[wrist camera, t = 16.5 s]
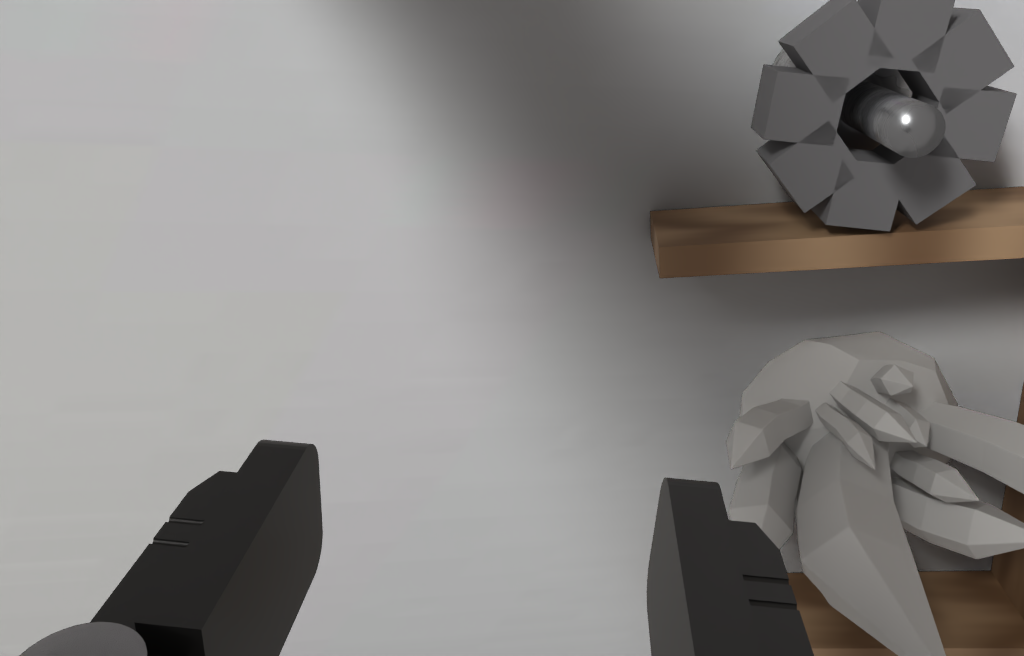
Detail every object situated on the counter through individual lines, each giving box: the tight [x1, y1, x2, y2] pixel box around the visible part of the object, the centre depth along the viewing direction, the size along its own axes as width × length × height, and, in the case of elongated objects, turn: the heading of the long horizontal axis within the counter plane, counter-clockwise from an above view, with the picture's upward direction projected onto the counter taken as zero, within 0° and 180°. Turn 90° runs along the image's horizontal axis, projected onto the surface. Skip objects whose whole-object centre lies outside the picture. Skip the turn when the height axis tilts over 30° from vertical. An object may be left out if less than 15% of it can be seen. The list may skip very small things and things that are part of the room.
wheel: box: [751, 0, 1017, 231], centre depth 27 cm, size 8×8×2 cm
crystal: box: [726, 332, 1024, 656], centre depth 30 cm, size 10×13×15 cm
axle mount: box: [773, 49, 946, 158], centre depth 28 cm, size 6×6×8 cm
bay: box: [650, 187, 1024, 656], centre depth 34 cm, size 17×20×5 cm
